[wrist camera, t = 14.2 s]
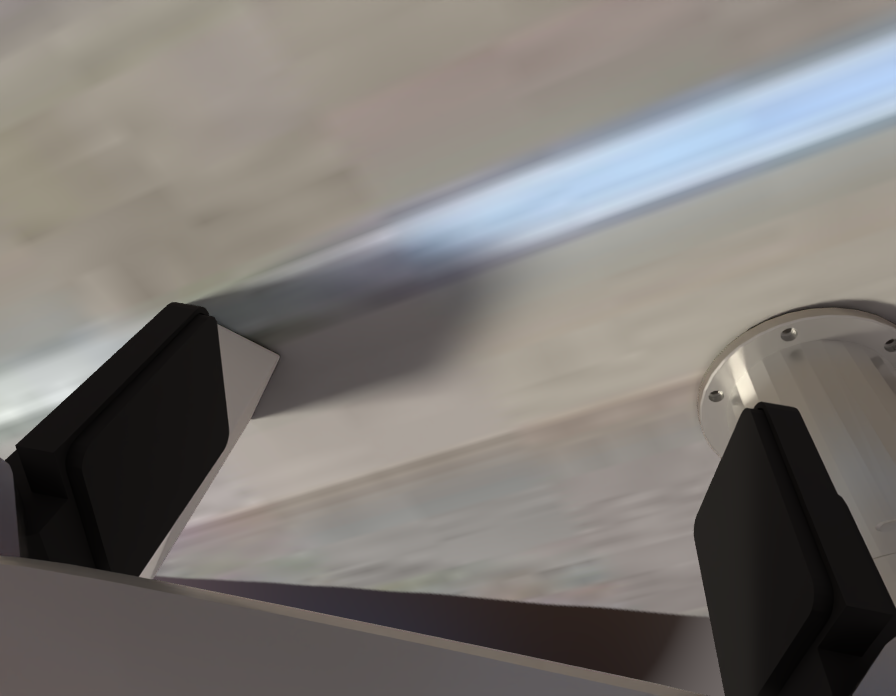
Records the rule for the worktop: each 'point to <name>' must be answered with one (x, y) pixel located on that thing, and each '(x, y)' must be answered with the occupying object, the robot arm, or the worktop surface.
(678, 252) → the worktop surface
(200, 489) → the milk carton
